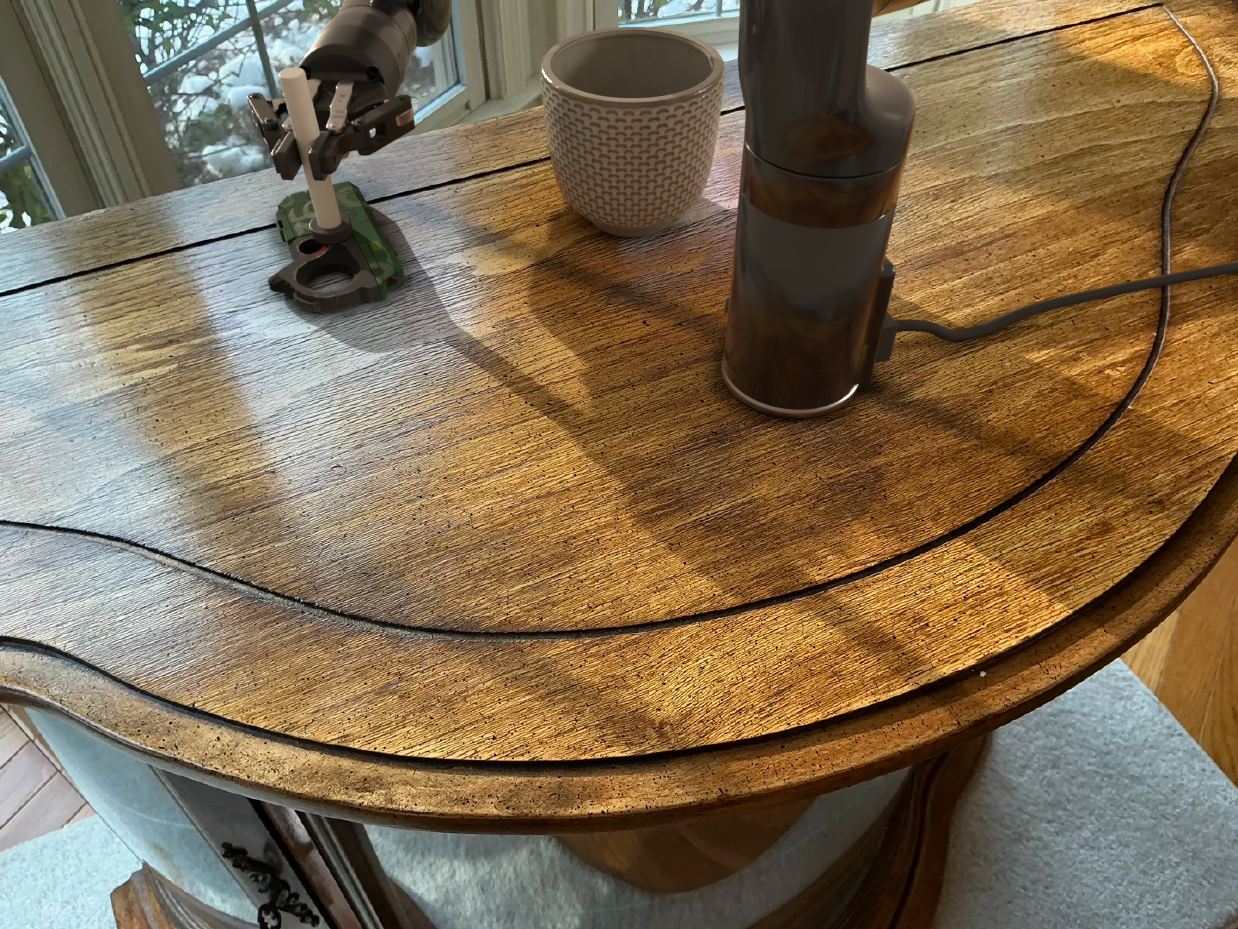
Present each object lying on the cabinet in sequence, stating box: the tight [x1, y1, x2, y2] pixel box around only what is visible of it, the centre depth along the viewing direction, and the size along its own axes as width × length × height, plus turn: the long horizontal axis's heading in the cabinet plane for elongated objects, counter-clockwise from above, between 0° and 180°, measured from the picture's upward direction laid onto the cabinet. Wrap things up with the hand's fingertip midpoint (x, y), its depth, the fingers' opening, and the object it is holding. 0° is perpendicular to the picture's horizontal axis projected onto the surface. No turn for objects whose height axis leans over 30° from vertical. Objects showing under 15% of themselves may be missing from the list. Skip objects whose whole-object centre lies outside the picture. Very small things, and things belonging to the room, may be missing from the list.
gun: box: [267, 180, 405, 314], centre depth 78 cm, size 16×2×10 cm
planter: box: [539, 26, 726, 238], centre depth 78 cm, size 14×14×13 cm
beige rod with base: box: [278, 67, 353, 244], centre depth 73 cm, size 3×3×13 cm
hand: (300, 168), depth 71 cm, fingers closed on beige rod with base, 2 cm apart
